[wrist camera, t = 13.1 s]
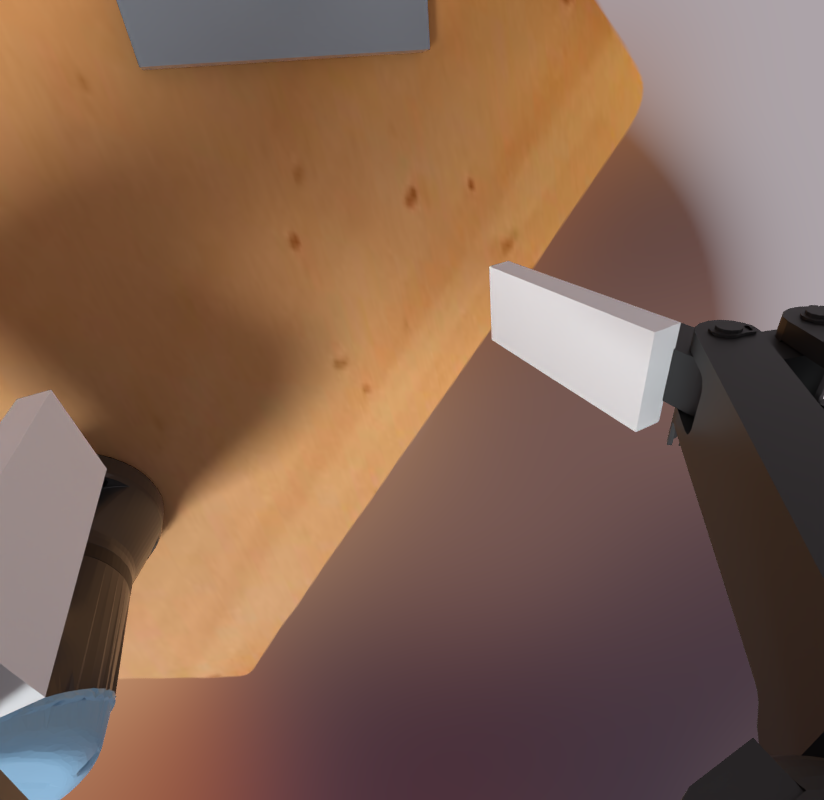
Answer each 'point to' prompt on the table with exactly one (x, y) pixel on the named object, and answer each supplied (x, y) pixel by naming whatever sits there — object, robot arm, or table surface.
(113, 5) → the table surface
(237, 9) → the slate board
